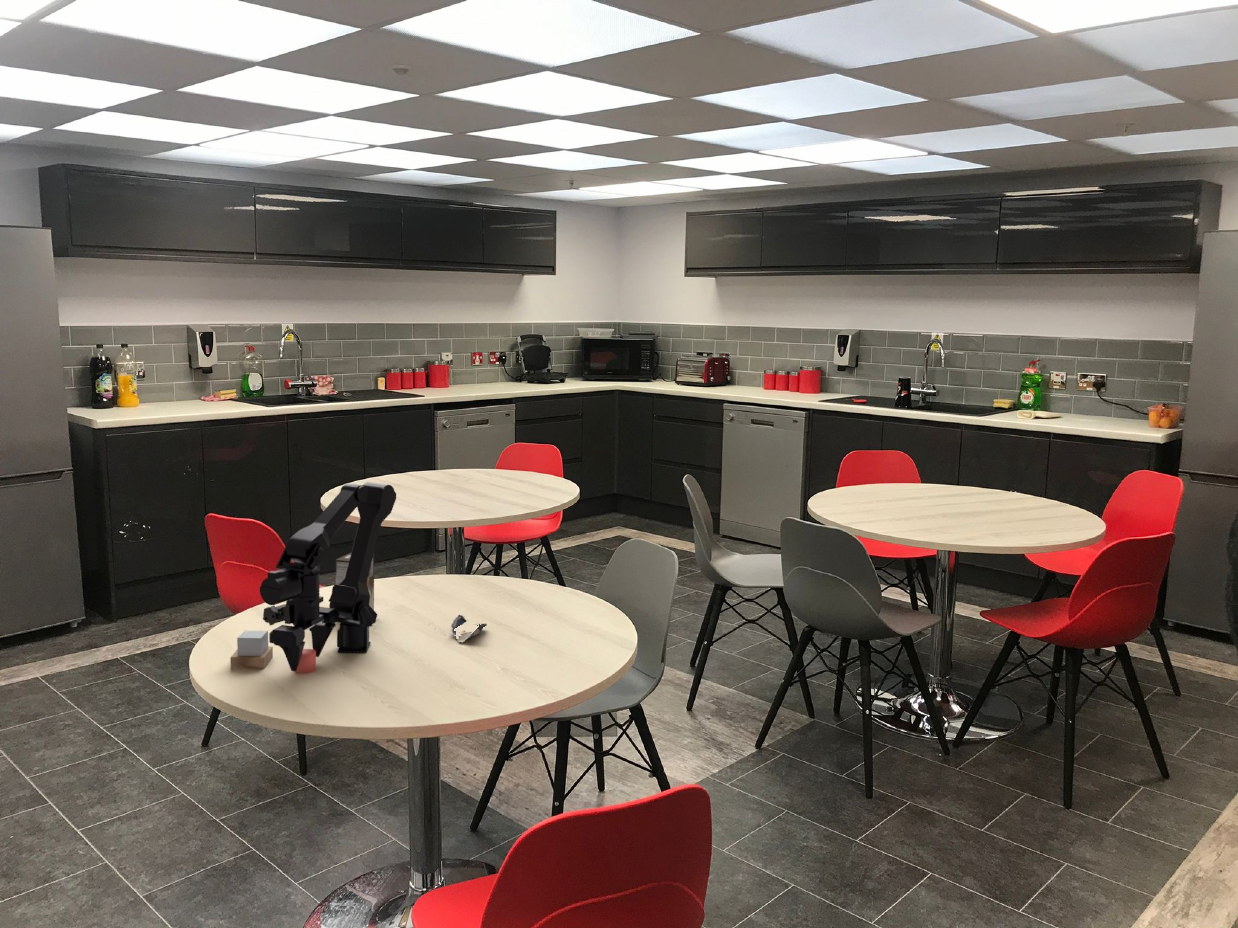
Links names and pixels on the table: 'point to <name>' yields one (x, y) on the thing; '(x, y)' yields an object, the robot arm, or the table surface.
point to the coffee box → (342, 569)
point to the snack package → (461, 620)
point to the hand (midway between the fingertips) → (305, 663)
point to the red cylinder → (307, 661)
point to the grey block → (252, 643)
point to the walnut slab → (251, 660)
